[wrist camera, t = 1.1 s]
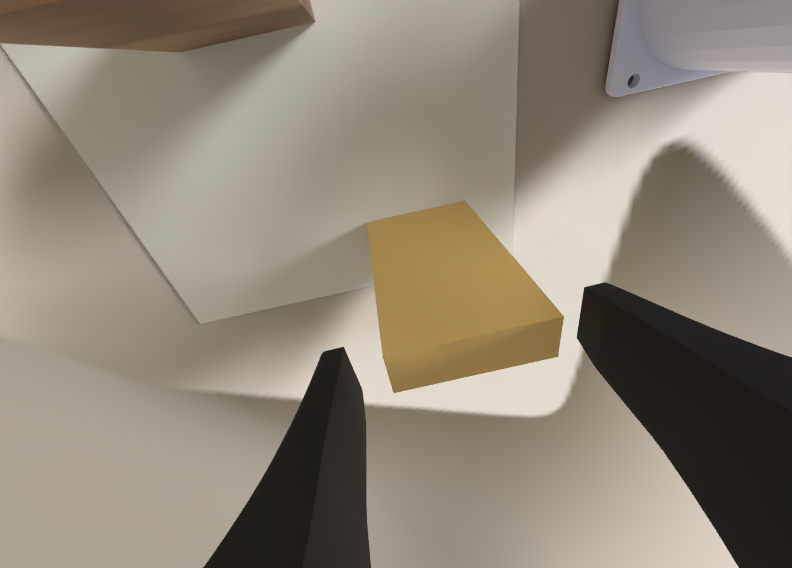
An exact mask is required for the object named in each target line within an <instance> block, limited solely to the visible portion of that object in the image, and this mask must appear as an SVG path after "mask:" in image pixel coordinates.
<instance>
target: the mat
mask: <svg viewBox="0 0 792 568" xmlns="http://www.w3.org/2000/svg"><path fill="white" fill-rule="evenodd" d="M310 2H311V5H312V9H313V13H314V17H315V21H316V22H313V23H308V24H304V25H300V26H295V27H291V28H286V29H282V30H277V31H273V32H268V33H264V34H260V35H255V36H251V37H246V38H242V39H237V40H233V41H228V42H224V43H220V44H215V45H211V46H206V47H202V48H197V49H193V50H189V51H184V52H180V53H179V52H160V51H140V50H121V49H102V48H82V47H63V46H43V45H24V44H5V43H0V45H1V46H2V47H3V49H4V50H5V52H6V53H7V54H8V56H9V57H10V59H11V60H12V61H13V63H14V64H15V66H16V67H17V68H18V70H19V71H20V73H21V74H22V75H23V77H24V78H25V80H26V81H27V82H28V84H29V85H30V87H31V88H32V89H33V91H34V92H35V94H36V95H37V96H38V98H39V99H40V101H41V102H42V103H43V105H44V106H45V108H46V109H47V110H48V112H49V113H50V115H51V116H52V117H53V119H54V120H55V122H56V123H57V124H58V126H59V127H60V129H61V130H62V131H63V133H64V134H65V136H66V137H67V138H68V140H69V141H70V143H71V144H72V145H73V147H74V148H75V150H76V151H77V152H78V154H79V155H80V157H81V158H82V160H83V161H84V162H85V164H86V165H87V167H88V168H89V169H90V171H91V172H92V174H93V175H94V176H95V178H96V179H97V181H98V182H99V183H100V185H101V186H102V188H103V189H104V190H105V192H106V193H107V195H108V196H109V197H110V199H111V200H112V202H113V203H114V204H115V206H116V207H117V209H118V210H119V211H120V213H121V214H122V216H123V217H124V218H125V220H126V221H127V223H128V224H129V225H130V227H131V228H132V230H133V231H134V232H135V234H136V235H137V237H138V238H139V239H140V241H141V242H142V244H143V245H144V246H145V248H146V249H147V251H148V252H149V253H150V255H151V256H152V258H153V259H154V260H155V262H156V263H157V265H158V266H159V267H160V269H161V270H162V272H163V273H164V274H165V276H166V277H167V279H168V280H169V281H170V283H171V284H172V286H173V287H174V288H175V290H176V291H177V293H178V294H179V296H180V297H181V298H182V300H183V301H184V303H185V304H186V305H187V307H188V308H189V310H190V311H191V312H192V314H193V315H194V317H195V318H196V319H197V321H198V322H199V324H204V323H209V322H213V321H218V320H222V319H227V318H231V317H236V316H240V315H245V314H249V313H254V312H258V311H263V310H267V309H272V308H276V307H281V306H285V305H290V304H294V303H299V302H303V301H307V300H312V299H316V298H321V297H325V296H330V295H334V294H339V293H343V292H348V291H352V290H357V289H361V288H366V287H370V286H374V279H373V271H372V262H371V254H370V246H369V237H368V229H367V222H371V221H375V220H380V219H384V218H388V217H393V216H397V215H402V214H406V213H411V212H415V211H420V210H424V209H429V208H433V207H438V206H442V205H447V204H451V203H456V202H460V201H466V202H467V203H468V204H469V205H470V207H471V208H472V209H473V210H474V211H475V212H476V214H477V215H478V216H479V217H480V218H481V220H482V221H483V222H484V223H485V224H486V225H487V227H488V228H489V229H490V230H491V231H492V233H493V234H494V235H495V236H496V237H497V238H498V240H499V241H500V242H501V243H502V244H503V245H504V247H505V248H506V249H507V250H508V251H509V253H510V254H511V255H513V229H514V193H515V156H516V120H517V83H518V47H519V10H520V0H310Z"/></svg>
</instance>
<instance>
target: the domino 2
mask: <svg viewBox="0 0 792 568" xmlns="http://www.w3.org/2000/svg"><path fill="white" fill-rule="evenodd" d="M367 229H368V237H369V246H370V254H371V262H372V271H373V279H374V287H375V295H376V304H377V312H378V320H379V329H380V337H381V345H382V354H383V359H384V362H385V365H386V369H387V372H388V375H389V379H390V382H391V385H392V389H393V392H394V393H396V392H401V391H405V390H410V389H414V388H419V387H423V386H428V385H432V384H437V383H441V382H446V381H450V380H455V379H459V378H464V377H468V376H473V375H477V374H482V373H486V372H491V371H495V370H500V369H504V368H509V367H513V366H518V365H522V364H527V363H531V362H536V361H540V360H545V359H549V358H554V357H558V352H559V345H560V339H561V332H562V325H563V319H564V316H563V315H562V314H561V313H560V312H559V310H558V309H557V308H556V307H555V306H554V304H553V303H552V302H551V301H550V300H549V299H548V297H547V296H546V295H545V294H544V293H543V291H542V290H541V289H540V288H539V287H538V286H537V284H536V283H535V282H534V281H533V280H532V279H531V277H530V276H529V275H528V274H527V273H526V271H525V270H524V269H523V268H522V267H521V266H520V264H519V263H518V262H517V261H516V260H515V258H514V257H513V256H512V255H511V254H510V253H509V251H508V250H507V249H506V248H505V247H504V245H503V244H502V243H501V242H500V241H499V240H498V238H497V237H496V236H495V235H494V234H493V233H492V231H491V230H490V229H489V228H488V227H487V225H486V224H485V223H484V222H483V221H482V220H481V218H480V217H479V216H478V215H477V214H476V212H475V211H474V210H473V209H472V208H471V207H470V205H469V204H468V203H467V202H466V201H460V202H456V203H451V204H447V205H442V206H438V207H433V208H429V209H424V210H420V211H415V212H411V213H406V214H402V215H397V216H393V217H388V218H384V219H380V220H375V221H371V222H367Z"/></svg>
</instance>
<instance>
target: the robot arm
mask: <svg viewBox="0 0 792 568" xmlns="http://www.w3.org/2000/svg"><path fill="white" fill-rule="evenodd" d="M732 71H741V72H779V73H792V0H619V5H618V11H617V17H616V24H615V30H614V36H613V42H612V48H611V55H610V61H609V67H608V73H607V79H606V86H605V88H606V93H607V94H608V95H609V96H613V97H620V96H625V95H629V94H634V93H638V92H643V91H647V90H652V89H656V88H661V87H665V86H670V85H674V84H678V83H683V82H687V81H692V80H696V79H701V78H705V77H710V76H714V75H719V74H723V73H728V72H732ZM632 75H633V81H632V83H631V84H630V86H628V80H629V78H630V77H631V76H632ZM577 339H578V340H579V342H580V344H581V345H582V347H583V349H584V350H585V352H586V354H587V355H588V357H589V358H590V360H591V361H592V363H593V364H594V366H595V367H596V369H597V370H598V371H599V372H600V374H601V375H602V376H603V377H604V379H605V380H606V381H607V382H608V384H609V385H610V386H611V387H612V388H613V390H614V391H615V392H616V393H617V395H618V396H619V397H620V398H621V399H622V400H623V402H624V403H625V404H626V405H627V407H628V408H629V409H630V410H631V411H632V413H633V414H634V415H635V416H636V418H637V419H638V420H639V421H640V422H641V424H642V425H643V426H644V427H645V428H646V430H647V431H648V432H649V433H650V435H651V436H652V437H653V438H654V440H655V441H656V442H657V444H658V445H659V446H660V447H661V449H662V450H663V451H664V453H665V454H666V456H667V457H668V459H669V460H670V461H671V463H672V464H673V466H674V467H675V469H676V470H677V472H678V473H679V475H680V476H681V477H682V479H683V480H684V482H685V483H686V485H687V486H688V487H689V489H690V491H691V492H692V494H693V495H694V497H695V498H696V500H697V501H698V503H699V505H700V506H701V508H702V509H703V511H704V512H705V514H706V515H707V517H708V518H709V520H710V522H711V523H712V525H713V526H714V528H715V529H716V531H717V533H718V534H719V536H720V537H721V539H722V541H723V542H724V544H725V546H726V547H727V549H728V550H729V552H730V554H731V555H732V557H733V559H734V560H735V562H736V564H737V565H738V567H739V568H792V357H789V356H786V355H783V354H780V353H777V352H774V351H771V350H769V349H766V348H763V347H760V346H757V345H755V344H752V343H750V342H747V341H744V340H742V339H739V338H737V337H734V336H731V335H728V334H726V333H724V332H721V331H718V330H716V329H714V328H711V327H709V326H706V325H704V324H701V323H699V322H697V321H694V320H692V319H689V318H687V317H685V316H682V315H680V314H677V313H675V312H673V311H671V310H668V309H666V308H664V307H662V306H659V305H657V304H655V303H653V302H650V301H648V300H645V299H643V298H641V297H639V296H637V295H634V294H632V293H630V292H627V291H625V290H623V289H620V288H618V287H616V286H613V285H611V284H608V283H600V284H596V285H592V286H588V287H584V293H583V300H582V306H581V313H580V320H579V326H578V333H577ZM203 568H371V563H370V552H369V540H368V528H367V510H366V418H365V408H364V400H363V392H362V388H361V386H360V383H359V381H358V379H357V376H356V374H355V372H354V370H353V367H352V365H351V363H350V360H349V358H348V356H347V353H346V351H345V349H344V347H341V348H337V349H333V350H329V351H325V352H323V353H322V355H321V357H320V360H319V362H318V365H317V367H316V370H315V372H314V374H313V377H312V379H311V382H310V384H309V386H308V389H307V391H306V393H305V395H304V398H303V400H302V402H301V404H300V406H299V409H298V411H297V413H296V415H295V417H294V419H293V421H292V423H291V425H290V428H289V429H288V431H287V433H286V435H285V437H284V439H283V441H282V443H281V445H280V447H279V449H278V450H277V452H276V454H275V456H274V458H273V460H272V462H271V464H270V465H269V467H268V469H267V471H266V472H265V474H264V476H263V477H262V479H261V481H260V483H259V485H258V486H257V488H256V489H255V491H254V493H253V494H252V496H251V497H250V499H249V501H248V502H247V504H246V505H245V507H244V508H243V510H242V512H241V513H240V515H239V516H238V518H237V519H236V521H235V522H234V524H233V525H232V527H231V528H230V530H229V532H228V533H227V534H226V536H225V537H224V539H223V540H222V542H221V543H220V545H219V546H218V548H217V549H216V551H215V552H214V554H213V555H212V556H211V558H210V559H209V561H208V562H207V563H206V565H205V566H204V567H203Z"/></svg>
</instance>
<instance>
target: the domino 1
mask: <svg viewBox="0 0 792 568" xmlns="http://www.w3.org/2000/svg"><path fill="white" fill-rule="evenodd" d="M313 22H316V21H315V17H314V13H313V9H312V5H311V2H310V0H0V43H5V44H24V45H43V46H63V47H82V48H102V49H121V50H140V51H160V52H179V53H180V52H184V51H189V50H193V49H197V48H202V47H206V46H211V45H215V44H220V43H224V42H228V41H233V40H237V39H242V38H246V37H251V36H255V35H260V34H264V33H268V32H273V31H277V30H282V29H286V28H291V27H295V26H300V25H304V24H308V23H313Z"/></svg>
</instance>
